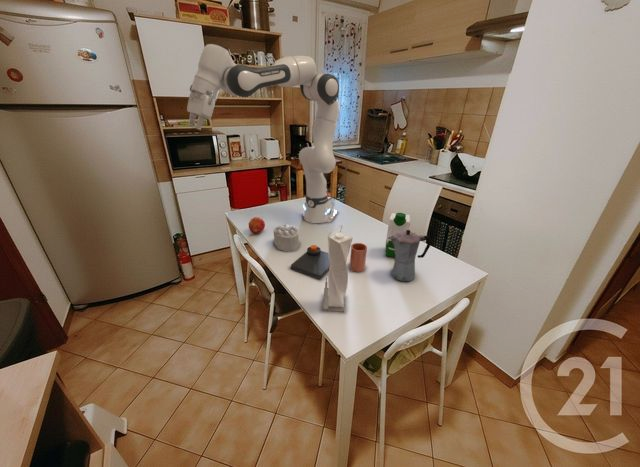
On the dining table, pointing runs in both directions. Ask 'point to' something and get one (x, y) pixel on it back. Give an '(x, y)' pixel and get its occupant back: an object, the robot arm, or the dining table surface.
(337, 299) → the skyscraper
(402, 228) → the milk carton
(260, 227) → the apple
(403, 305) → the dining table surface
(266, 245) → the dining table surface
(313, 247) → the button
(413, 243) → the moka pot
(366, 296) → the dining table surface
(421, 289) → the dining table surface
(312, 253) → the dark grey flat block
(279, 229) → the lumpy-topped squat cylinder
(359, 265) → the cup
